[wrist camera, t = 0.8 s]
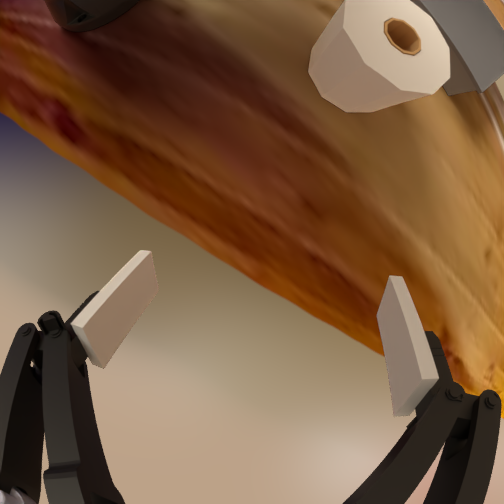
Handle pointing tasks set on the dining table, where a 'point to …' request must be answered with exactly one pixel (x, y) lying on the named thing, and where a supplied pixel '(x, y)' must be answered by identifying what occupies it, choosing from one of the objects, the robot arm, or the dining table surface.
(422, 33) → the toilet paper
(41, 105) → the dining table surface
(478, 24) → the grey box
